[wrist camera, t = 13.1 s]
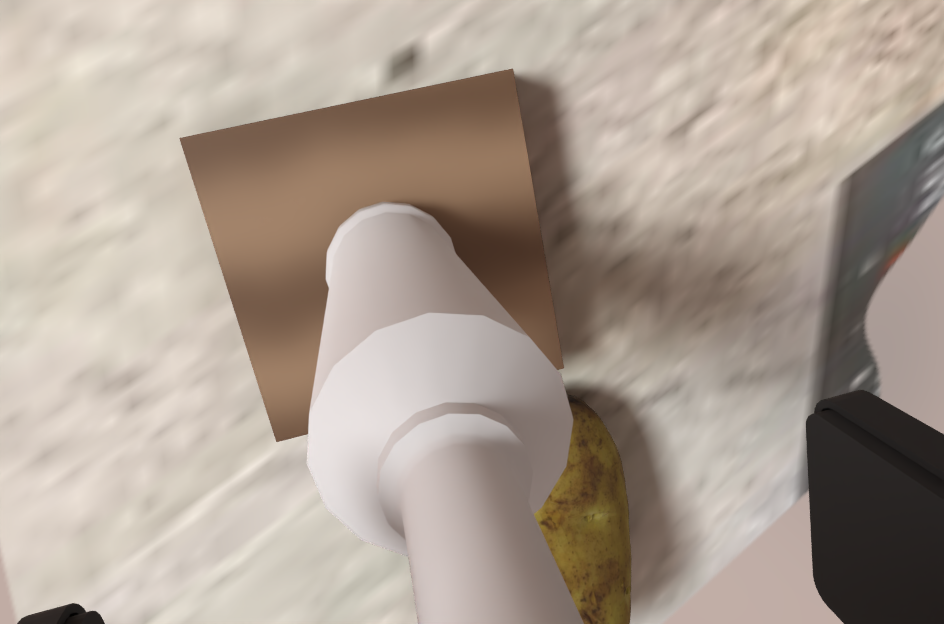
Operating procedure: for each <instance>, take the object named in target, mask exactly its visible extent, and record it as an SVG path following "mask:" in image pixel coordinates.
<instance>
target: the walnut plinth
mask: <svg viewBox="0 0 944 624" xmlns="http://www.w3.org/2000/svg"><path fill="white" fill-rule="evenodd" d="M180 141H181V145H182V148H183V151H184V154H185V157H186V160H187V163H188V166H189V170H190V173H191V176H192V179H193V182H194V185H195V188H196V192H197V195H198V198H199V201H200V204H201V207H202V210H203V213H204V217H205V220H206V223H207V226H208V229H209V232H210V235H211V239H212V242H213V245H214V248H215V251H216V254H217V257H218V260H219V264H220V267H221V270H222V273H223V276H224V279H225V282H226V285H227V289H228V292H229V295H230V298H231V301H232V304H233V307H234V311H235V314H236V317H237V320H238V323H239V326H240V329H241V332H242V336H243V339H244V342H245V345H246V348H247V351H248V354H249V357H250V361H251V364H252V367H253V370H254V373H255V376H256V379H257V383H258V386H259V389H260V392H261V395H262V398H263V401H264V404H265V408H266V411H267V414H268V417H269V420H270V423H271V426H272V429H273V433H274V436H275V439H276V442H279V441H283V440H287V439H291V438H294V437H298V436H302V435H306V434H308V426H309V411H310V405H311V398H312V392H313V386H314V379H315V373H316V367H317V361H318V354H319V348H320V342H321V336H322V329H323V323H324V317H325V310H326V304H327V298H328V292H329V287H328V284H327V282H326V259H327V250H328V248H329V246H330V244H331V242H332V240H333V238H334V236H335V234H336V232H337V230H338V228H339V226H340V225H341V224H342V223H344V222H345V221H346V220H347V219H348V218H349V217H350V216H352V215H353V214H354V213H355V212H356V211H357V210H359V209H362V208H365V207H368V206H371V205H374V204H377V203H380V202H394V203H406V204H410V205H412V206H414V207H416V208H418V209H420V210H422V211H424V212H426V213H428V214H430V215H431V216H433V217H434V218H435V220H436V221H437V222H438V223H439V224H440V226H441V227H442V228H443V229H444V230H445V231H446V233H447V234H448V235H449V236H450V237H451V240H452V243H453V247H454V250H455V253H456V255H457V256H458V257H459V258H460V259H461V260H462V261H463V262H464V264H465V265H466V266H467V267H468V268H469V269H470V270H471V272H472V273H473V274H474V275H475V276H476V277H477V278H478V279H479V281H480V282H481V283H482V284H483V285H484V286H485V287H486V289H487V290H488V291H489V292H490V293H491V294H492V295H493V296H494V298H495V299H496V300H497V301H498V302H499V303H500V304H501V306H502V307H503V308H504V309H505V310H506V311H507V312H508V313H509V315H510V316H511V317H512V318H513V319H514V320H515V321H516V323H517V324H518V325H519V326H520V327H521V328H522V329H523V330H524V332H525V333H526V334H527V335H528V336H529V337H530V338H531V340H532V341H533V342H534V343H535V344H536V346H537V347H538V348H539V349H540V350H541V351H542V353H543V354H544V355H545V356H546V357H547V359H548V360H549V361H550V362H551V363H552V364H553V366H554V367H555V368H556V369H557V370H559V369H563V368H564V365H563V360H562V354H561V348H560V342H559V336H558V330H557V324H556V318H555V313H554V307H553V301H552V295H551V289H550V283H549V277H548V271H547V266H546V260H545V254H544V248H543V242H542V236H541V230H540V224H539V219H538V213H537V207H536V201H535V195H534V189H533V183H532V177H531V171H530V166H529V160H528V154H527V148H526V142H525V136H524V130H523V124H522V119H521V113H520V107H519V101H518V95H517V89H516V83H515V77H514V72H513V69H509V70H504V71H499V72H494V73H490V74H485V75H480V76H475V77H470V78H466V79H461V80H456V81H451V82H446V83H442V84H437V85H432V86H427V87H422V88H418V89H413V90H408V91H403V92H398V93H394V94H389V95H384V96H379V97H374V98H370V99H365V100H360V101H355V102H351V103H346V104H341V105H336V106H331V107H327V108H322V109H317V110H312V111H307V112H303V113H298V114H293V115H288V116H283V117H279V118H274V119H269V120H264V121H259V122H255V123H250V124H245V125H240V126H235V127H231V128H226V129H221V130H216V131H212V132H207V133H202V134H197V135H192V136H188V137H183V138H180Z"/></svg>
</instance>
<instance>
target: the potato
mask: <svg viewBox="0 0 944 624" xmlns="http://www.w3.org/2000/svg"><path fill="white" fill-rule="evenodd" d="M567 398H568V402H569V405H570V409H571V412H572V416H573V426H572V433H571V439H570V446H569V452H568V459H567V466H566V468H565V469H564V471H563V473H562V474H561V476H560V478H559V479H558V481H557V483H556V484H555V486H554V488H553V490H552V491H551V493H550V495H549V496H548V498H547V500H546V501H545V503H544V505H543V506H542V508H541V509H539V510H538V511H537V512H536V513H534V516H535V518H536V520H537V522H538V525H539V527H540V529H541V531H542V533H543V535H544V538H545V540H546V542H547V544H548V546H549V549H550V551H551V553H552V555H553V557H554V559H555V562H556V564H557V566H558V568H559V570H560V573H561V575H562V577H563V579H564V581H565V584H566V586H567V588H568V590H569V592H570V594H571V597H572V599H573V601H574V603H575V605H576V608H577V610H578V612H579V614H580V616H581V619H582V621H583V623H584V624H629V623H630V612H631V598H630V592H631V546H630V536H629V510H628V500H627V494H626V486H625V478H624V473H623V468H622V463H621V459H620V456H619V453H618V450H617V448H616V445H615V443H614V441H613V439H612V437H611V436H610V434H609V432H608V430H607V429H606V427H605V425H604V424H603V422H602V421H601V419H600V418H599V417H598V415H597V414H596V413H595V412H594V411H593V410H592V409H591V408H590V407H588V405H587V404H586V403H585V402H584V401H582V400H580V399H579V398H577V397H575V396H571V395H567Z"/></svg>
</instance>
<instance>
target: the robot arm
mask: <svg viewBox="0 0 944 624" xmlns="http://www.w3.org/2000/svg"><path fill="white" fill-rule="evenodd" d="M806 438H807V459H808V480H809V499H810V500H809V501H810V522H811V542H812V562H813V577H814V582H815V585H816V588H817V590H818V593H819V595H820V596H821V598H822V600H823V601H824V602H825V603H826V605H827V606H828V607H829V608H830V609H831V610H832V611H833V612H834V613H835V614H836V616H837V617H838V618H839V619H840V620H841V621H842V622H843V623H844V624H944V434H942V433H940V432H938V431H937V430H935V429H933V428H931V427H930V426H928V425H926V424H924V423H923V422H921V421H919V420H917V419H915V418H914V417H912V416H910V415H908V414H907V413H905V412H903V411H901V410H900V409H898V408H896V407H894V406H893V405H891V404H889V403H887V402H886V401H884V400H882V399H880V398H878V397H877V396H875V395H873V394H871V393H870V392H867V391H864V390H858V391H854V392H850V393H846V394H842V395H839V396H835V397H831V398H828V399H824V400H821V401H820V402H818V403H817V405H816V407H815V411H814V414H811V415H810V416H808V418H807V421H806ZM17 624H105V623H104V621H103V619H102V617H101V616H100V614H99V613H97V612H96V611H89V612H86V611H85V609H84V608H83V607H82V606H80V605H79V604H75V603H72V604H68V605H65V606H61V607H57V608H54V609H50V610H46V611H43V612H39V613H35V614H32V615H28V616H26V617H24V618H22V619H21V620H20V621H19V622H18V623H17Z"/></svg>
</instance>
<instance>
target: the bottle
mask: <svg viewBox="0 0 944 624" xmlns="http://www.w3.org/2000/svg"><path fill="white" fill-rule="evenodd" d="M326 282H327V284H328V287H329V292H328V298H327V304H326V310H325V317H324V323H323V329H322V336H321V342H320V348H319V354H318V361H317V367H316V373H315V379H314V386H313V392H312V398H311V405H310V411H309V426H308V448H307V465H308V468H309V470H310V472H311V475H312V477H313V479H314V482H315V484H316V486H317V489H318V491H319V494H320V496H321V498H322V501H323V503H324V505H325V508H326V509H327V510H329V511H330V512H331V513H332V514H333V515H334V516H335V517H336V518H337V519H338V520H339V521H341V522H342V523H343V524H344V525H345V526H346V527H347V528H348V529H349V530H350V531H352V532H353V533H354V534H355V535H356V536H357V537H358V538H359V539H360V540H362V541H365V542H368V543H371V544H373V545H376V546H379V547H382V548H385V549H387V550H390V551H393V552H396V553H399V554H401V555H404V556H408V558H409V565H410V572H411V578H412V585H413V592H414V598H415V605H416V612H417V618H418V624H584V623H583V621H582V619H581V616H580V614H579V612H578V610H577V608H576V605H575V603H574V601H573V599H572V597H571V594H570V592H569V590H568V588H567V586H566V584H565V581H564V579H563V577H562V575H561V573H560V570H559V568H558V566H557V564H556V562H555V559H554V557H553V555H552V553H551V551H550V549H549V546H548V544H547V542H546V540H545V538H544V535H543V533H542V531H541V529H540V527H539V525H538V522H537V520H536V518H535V516H534V513H536V512H537V511H538V510H539V509H541V508H542V506H543V505H544V503H545V501H546V500H547V498H548V496H549V495H550V493H551V491H552V490H553V488H554V486H555V484H556V483H557V481H558V479H559V478H560V476H561V474H562V473H563V471H564V469H565V468H566V466H567V459H568V452H569V446H570V439H571V433H572V426H573V416H572V412H571V409H570V405H569V402H568V398H567V394H566V391H565V387H564V383H563V380H562V376H561V374H560V373H559V372H558V370H557V369H556V368H555V367H554V366H553V364H552V363H551V362H550V361H549V360H548V359H547V357H546V356H545V355H544V354H543V353H542V351H541V350H540V349H539V348H538V347H537V346H536V344H535V343H534V342H533V341H532V340H531V338H530V337H529V336H528V335H527V334H526V333H525V332H524V330H523V329H522V328H521V327H520V326H519V325H518V324H517V323H516V321H515V320H514V319H513V318H512V317H511V316H510V315H509V313H508V312H507V311H506V310H505V309H504V308H503V307H502V306H501V304H500V303H499V302H498V301H497V300H496V299H495V298H494V296H493V295H492V294H491V293H490V292H489V291H488V290H487V289H486V287H485V286H484V285H483V284H482V283H481V282H480V281H479V279H478V278H477V277H476V276H475V275H474V274H473V273H472V272H471V270H470V269H469V268H468V267H467V266H466V265H465V264H464V262H463V261H462V260H461V259H460V258H459V257H458V256H457V255H456V253H455V250H454V247H453V243H452V240H451V237H450V236H449V235H448V234H447V233H446V231H445V230H444V229H443V228H442V227H441V226H440V224H439V223H438V222H437V221H436V220H435V218H434V217H433V216H431V215H430V214H428V213H426V212H424V211H422V210H420V209H418V208H416V207H414V206H412V205H410V204H406V203H394V202H380V203H377V204H374V205H371V206H368V207H365V208H362V209H359V210H357V211H356V212H355V213H354V214H353V215H352V216H350V217H349V218H348V219H347V220H346V221H345V222H344V223H342V224H341V225H340V226H339V228H338V230H337V232H336V234H335V236H334V238H333V240H332V242H331V244H330V246H329V248H328V250H327V259H326Z"/></svg>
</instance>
